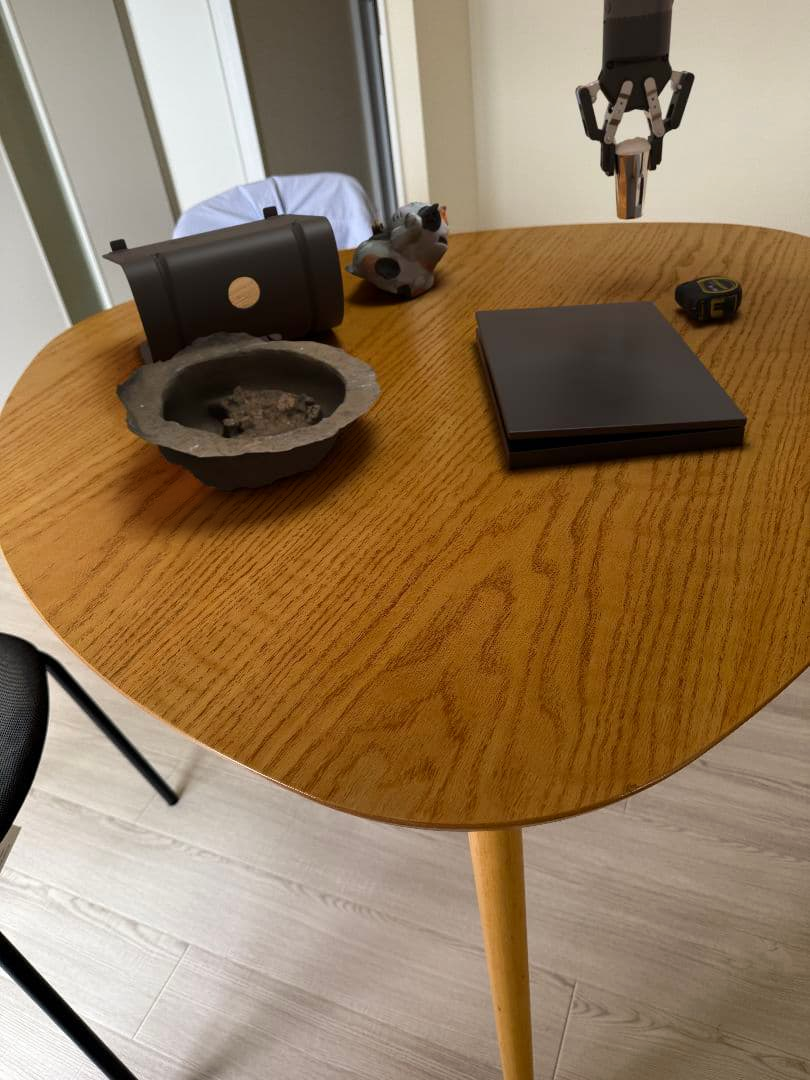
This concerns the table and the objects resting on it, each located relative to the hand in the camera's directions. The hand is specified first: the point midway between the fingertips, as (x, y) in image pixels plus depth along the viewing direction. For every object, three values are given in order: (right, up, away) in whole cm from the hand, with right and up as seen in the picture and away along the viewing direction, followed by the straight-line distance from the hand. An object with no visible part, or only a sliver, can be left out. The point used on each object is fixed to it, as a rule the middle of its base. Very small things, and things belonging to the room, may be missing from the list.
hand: (630, 171), depth 98 cm
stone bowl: (-42, -37, -19) cm, 59 cm away
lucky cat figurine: (-29, -9, +17) cm, 34 cm away
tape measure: (+8, -20, -4) cm, 21 cm away
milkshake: (+1, -4, +3) cm, 6 cm away
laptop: (-9, -30, -15) cm, 35 cm away
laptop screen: (-9, -28, -17) cm, 34 cm away
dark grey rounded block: (-50, -21, +5) cm, 54 cm away
